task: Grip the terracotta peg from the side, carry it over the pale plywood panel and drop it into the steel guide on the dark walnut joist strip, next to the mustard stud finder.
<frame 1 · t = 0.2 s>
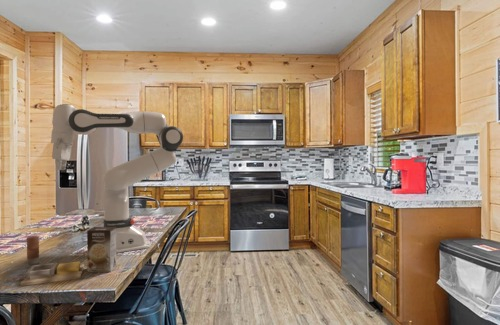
hand: (60, 170, 145), 38 cm above the table, tool pointing down, fingers open, 8 cm apart
coffee box: (102, 269, 125), on the table
terracotta peg: (33, 267, 128), on the table
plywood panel: (55, 275, 119), on the table
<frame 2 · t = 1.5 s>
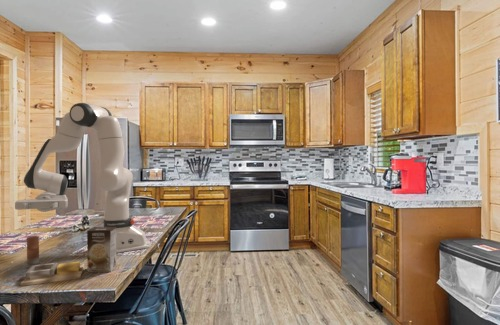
hand: (39, 206, 139), 23 cm above the table, tool horizontal, fingers open, 8 cm apart
nothing on the table moved.
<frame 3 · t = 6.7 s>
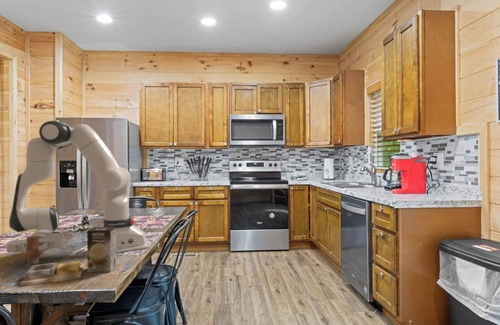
hand: (32, 249, 127), 8 cm above the table, tool horizontal, fingers closed on terracotta peg, 4 cm apart
terracotta peg: (33, 267, 128), on the table, touching gripper
everything else where it was.
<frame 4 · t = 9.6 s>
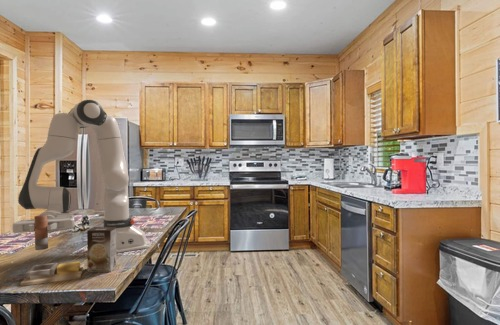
hand: (40, 228, 117), 18 cm above the table, tool horizontal, fingers closed on terracotta peg, 4 cm apart
terracotta peg: (41, 248, 117), point 10 cm above the table, touching gripper
everything else where it was.
when the fingers open (10 cm above the table, at t = 12.7 s): terracotta peg drops 1 cm, resting on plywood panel.
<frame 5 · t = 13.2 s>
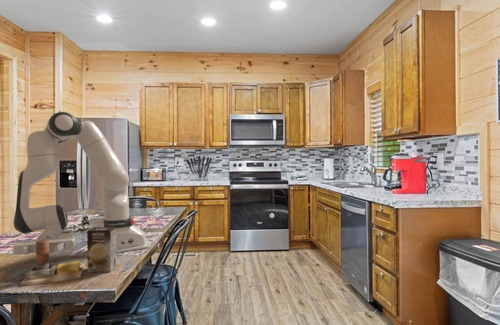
hand: (41, 250, 117), 10 cm above the table, tool horizontal, fingers open, 8 cm apart
terracotta peg: (42, 273, 118), point 1 cm above the table, touching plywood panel
everything else where it was.
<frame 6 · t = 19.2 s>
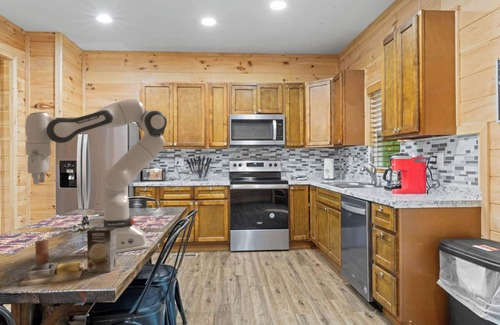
hand: (39, 183, 136), 33 cm above the table, tool pointing down, fingers open, 8 cm apart
nothing on the table moved.
at the end: terracotta peg 0.0 cm from the target spot, point 1.1 cm above the table; terracotta peg tilted 0°; the gripper is holding nothing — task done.
